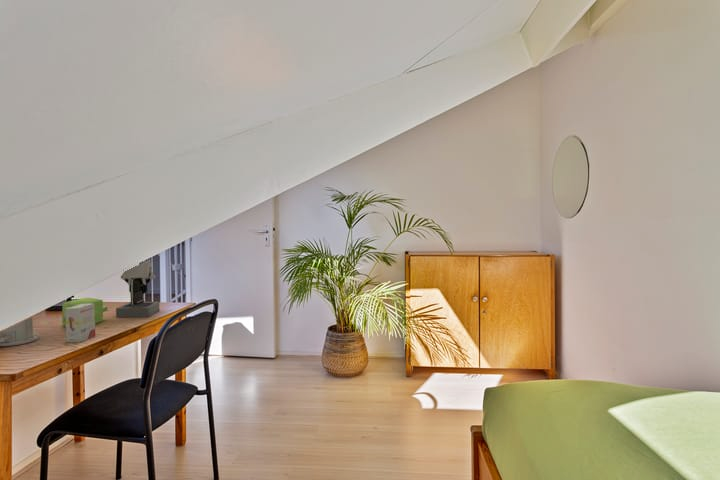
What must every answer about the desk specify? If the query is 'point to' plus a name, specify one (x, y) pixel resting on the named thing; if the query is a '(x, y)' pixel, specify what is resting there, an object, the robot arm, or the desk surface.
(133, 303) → the battery
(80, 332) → the ink box
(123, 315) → the tray
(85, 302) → the lime green rounded box
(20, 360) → the desk surface
